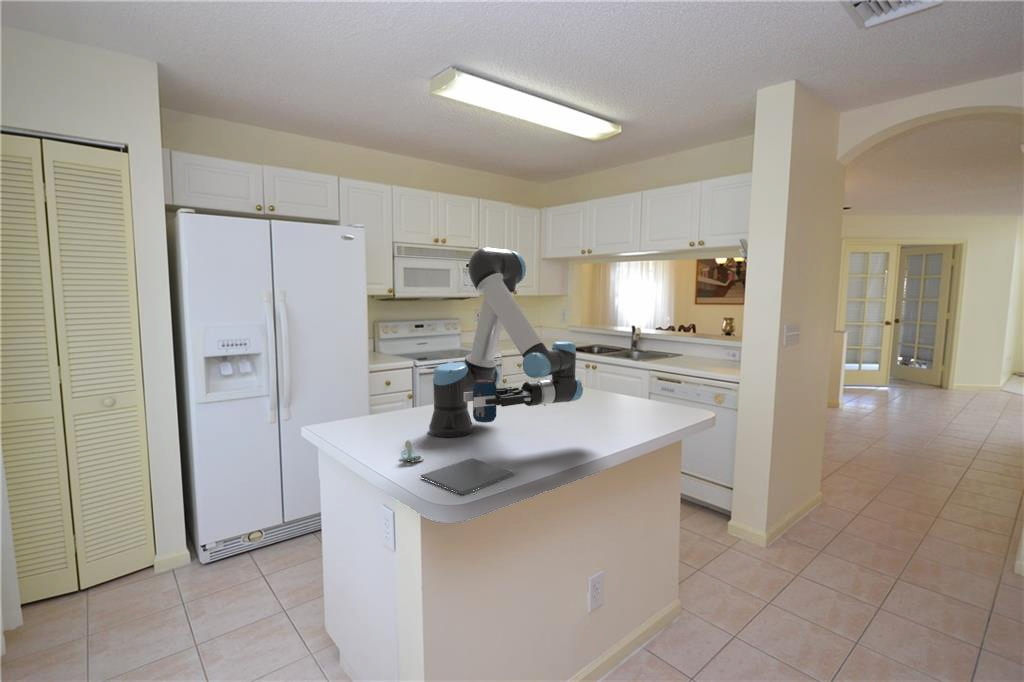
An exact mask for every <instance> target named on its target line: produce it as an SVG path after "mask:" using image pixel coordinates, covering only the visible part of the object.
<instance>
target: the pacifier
mask: <svg viewBox="0 0 1024 682" xmlns="http://www.w3.org/2000/svg"><path fill="white" fill-rule="evenodd" d="M404 445H405V448H406V449H403V450H402V451H400V456H401V458H402V459H404V461H407V460H409V461H415V462H414V463H420V462H419V461H421V462H423V461H424V460H425V456H423V455H422V454H419V453H418V452H417V451H415V450H413V446H412V443H411V441H410V439H407V440H406V441H405V443H404ZM419 457H421V458H419Z"/></svg>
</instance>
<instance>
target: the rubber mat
mask: <svg viewBox="0 0 1024 682" xmlns="http://www.w3.org/2000/svg"><path fill="white" fill-rule="evenodd" d="M512 475H513V476H514V471H512V470H509V469H506V468H503V467H500V466H498V465H494V464H490V463H489V462H486V461H482V460H481V459H480V460H479V459H476V458H473V457H471V458H468V459H465V460H462V461H459V462H456V463H452V464H449V465H447V466H444V467H443V466H442V467H441V468H437V469H434V470H431V471H429V472H426V473H422V474H421V475H420V478H421V477H422V478H424V479H427V480H429V481H432V482H434V483H436V484H439V485H441V486H443V487H446V488H448V489H450V490H453V491H455V492H457V493H459V494H462V495H463V494H465V495H467V494H466V493H468V494H470V493H472V492H471V491H473V490H475V491H477V490H476V489H478V488H480V489H482V488H481V487H483V488H485V487H487V486H486V485H488V486H490V485H492V484H491V483H493V484H495V483H498V482H500V481H502V479H503V480H505V479H507V477H508V478H510V477H509V476H511V477H513V476H512ZM504 478H505V479H504ZM499 480H500V481H499ZM497 481H498V482H497ZM494 482H495V483H494ZM489 484H490V485H489ZM484 486H485V487H484ZM450 490H449V491H450ZM478 490H479V489H478ZM455 492H454V493H455ZM469 492H470V493H469ZM473 492H474V491H473ZM457 493H456V494H457ZM459 494H458V495H459ZM462 495H461V496H462ZM463 496H464V495H463Z"/></svg>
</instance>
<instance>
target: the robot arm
mask: <svg viewBox="0 0 1024 682" xmlns="http://www.w3.org/2000/svg"><path fill="white" fill-rule="evenodd" d="M467 267H468V275H469V279H470V280H471V283H472V284H473V287H474V288H475V290H476V291H477V293H478V294H482V295H483V298H482V302H481V308H480V312H479V315H478V319H477V324H476V330H475V334H474V339H473V343H472V346H471V350H470V351H471V352H470V353H469V354H467V355H466V356H465V359H464V362H451V363H450V362H449V363H443V364H441V365H438V366H436V367H435V368H434V371H433V378H432V382H433V385H432V386H433V413H432V415H431V420H430V423H429V424H428V430H429V431H428V433H429V434H430V435H431V434H433V435H432V436H434V435H435V436H434V437H439V438H456V437H457V438H458V437H463V436H464V437H465V436H467V435H470V434H472V433H473V430H474V427H473V426H474V425H473V422H472V419H471V416H470V412H469V408H468V406H469V405H468V403H469V402H473V385H474V383H475V380H477V379H493V380H495V384H496V386H498V385H499V381H500V373H499V369H498V366H497V361H496V360H495V356H496V355H495V354H496V351H497V348H498V342H499V339H500V335H501V330H502V327H503V328H504V329H505V331H506V332H507V334H508V336H509V338H510V339H511V341H512V342H513V344H514V345H515V347H516V348H517V350H518V351H519V353H520V355H521V356H522V358H523V359H522V364H521V365H522V370H523V372H524V374H525V375H526V376H528V377H529V378H530V379H538V378H539V379H540V378H541V379H542V378H546V377H549V376H551V379H543V380H532V381H525V382H523V384H522V386H521V388H520V387H518V386H517V387H512V386H507V387H506V386H505V387H497V392H496V398H495V396H484V397H474V407H483V406H492V405H495V404H496V406H500V407H503V408H504V407H509V406H510V407H511V406H516V405H523V404H524V405H526V406H528V407H533V406H538V405H543V407H545V406H547V405H549V404H557V403H559V404H560V403H570V402H575V401H578V400H580V399H581V398H582V396H583V392H584V386H582V384H583V383H582V381H581V380H580V379H579V378H578V377H576V363H577V362H576V361H577V350H576V349H577V348H576V347H577V346H576V344H575V343H574V342H571V341H555V342H553V343H552V346H551V347H552V348H551V349H548V348H547V347H546V346H545V344H544V343H543V341H542V339H541V338H540V336H539V334H538V333H537V331H536V330H535V328H534V327H533V325H532V324H531V321H529V319H528V317H527V316H526V315H525V313H524V311H523V310H522V308H521V306H519V304H518V302H517V300H516V299H515V297H514V296H513V294H514V293H515V292H516V287H517V285H518V284H519V283H521V282H522V281H523V279H524V278H525V276H526V271H527V268H526V262H525V261H524V258H523V256H522V255H521V254H520V253H519V252H517V251H514V250H509V249H502V248H492V247H483V248H480V249H478V250H476V251H475V252H474V253H473V254H472V255H471V257H470V259H469V261H468V266H467Z"/></svg>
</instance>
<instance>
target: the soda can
mask: <svg viewBox="0 0 1024 682" xmlns="http://www.w3.org/2000/svg"><path fill="white" fill-rule="evenodd" d="M497 386H498V385H497ZM497 386H496V384H495V380H493V379H477V380H475V383H474V385H473V401H472V417H473V419H474V420H475V422H477V423H482V424H483V423H484V424H486V423H492V422H494V421H495V420H496V418H497V405H496V404H495V405H492V406H483V407H474V397H484V396H495V398H496V392H497V388H498V387H497Z"/></svg>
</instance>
